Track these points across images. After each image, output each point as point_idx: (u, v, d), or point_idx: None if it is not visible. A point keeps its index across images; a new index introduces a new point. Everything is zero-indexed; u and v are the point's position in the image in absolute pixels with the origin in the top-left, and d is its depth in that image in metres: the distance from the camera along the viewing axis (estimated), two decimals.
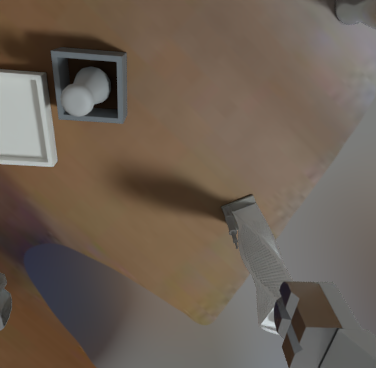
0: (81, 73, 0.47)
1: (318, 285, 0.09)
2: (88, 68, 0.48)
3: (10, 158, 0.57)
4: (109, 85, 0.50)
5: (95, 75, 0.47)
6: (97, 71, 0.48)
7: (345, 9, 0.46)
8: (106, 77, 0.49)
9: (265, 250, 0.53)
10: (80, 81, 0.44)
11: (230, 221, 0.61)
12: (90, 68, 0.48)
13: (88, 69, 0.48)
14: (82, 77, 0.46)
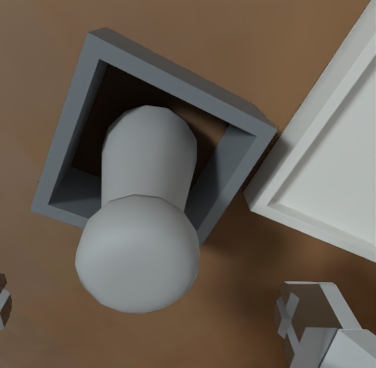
0: None
1: (318, 285, 0.09)
2: None
3: None
4: (104, 142, 0.18)
5: None
6: None
7: None
8: None
9: None
10: None
11: None
12: None
13: None
14: None
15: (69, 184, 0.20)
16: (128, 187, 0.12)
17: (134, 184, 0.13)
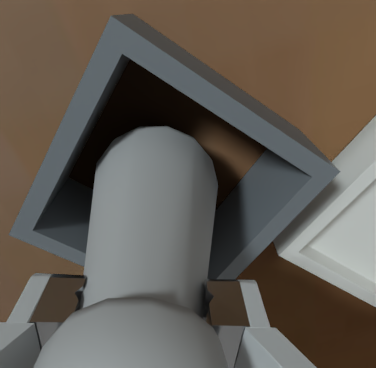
0: None
1: (237, 282, 0.09)
2: None
3: None
4: (101, 161, 0.14)
5: None
6: None
7: None
8: None
9: None
10: None
11: None
12: None
13: None
14: None
15: (63, 202, 0.16)
16: (135, 265, 0.08)
17: (145, 261, 0.08)
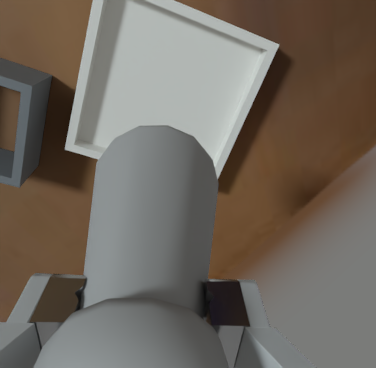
0: None
1: (237, 282, 0.09)
2: None
3: None
4: (101, 160, 0.14)
5: None
6: None
7: None
8: None
9: None
10: None
11: None
12: None
13: None
14: None
15: None
16: (136, 265, 0.08)
17: (145, 261, 0.08)
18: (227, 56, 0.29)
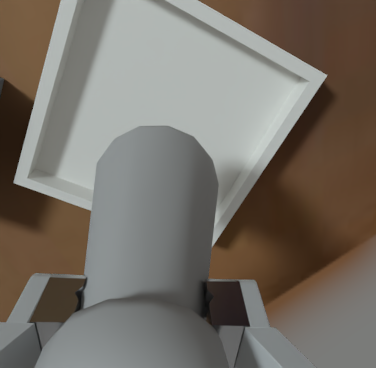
0: None
1: (237, 282, 0.09)
2: None
3: None
4: (102, 160, 0.14)
5: None
6: None
7: None
8: None
9: None
10: None
11: None
12: None
13: None
14: None
15: None
16: (136, 265, 0.08)
17: (146, 261, 0.08)
18: (252, 81, 0.21)
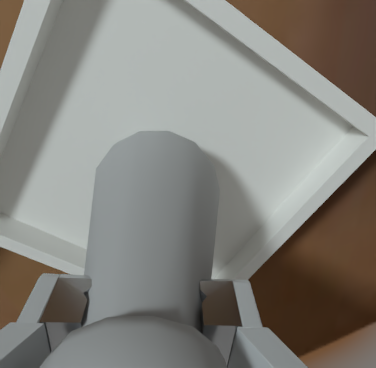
0: None
1: (230, 282, 0.09)
2: None
3: (238, 40, 0.13)
4: (101, 166, 0.13)
5: None
6: None
7: None
8: None
9: None
10: None
11: None
12: None
13: None
14: None
15: None
16: (137, 279, 0.08)
17: (146, 275, 0.08)
18: (288, 125, 0.16)
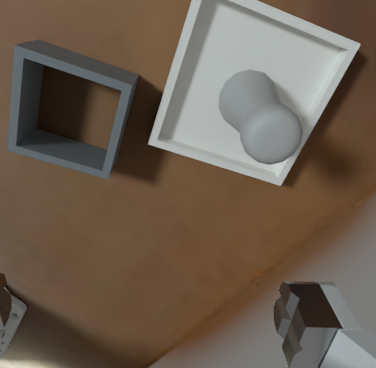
0: None
1: (317, 284, 0.09)
2: None
3: (274, 19, 0.29)
4: (222, 91, 0.30)
5: (230, 122, 0.29)
6: (226, 120, 0.30)
7: None
8: (220, 104, 0.30)
9: None
10: None
11: None
12: None
13: None
14: None
15: (32, 137, 0.33)
16: (260, 104, 0.24)
17: (263, 103, 0.24)
18: (307, 55, 0.31)
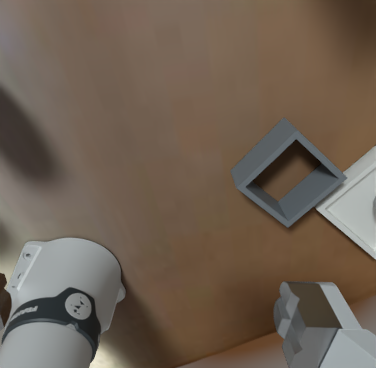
0: None
1: (317, 285, 0.09)
2: None
3: None
4: None
5: None
6: None
7: None
8: None
9: None
10: None
11: None
12: None
13: None
14: None
15: None
16: None
17: None
18: None
